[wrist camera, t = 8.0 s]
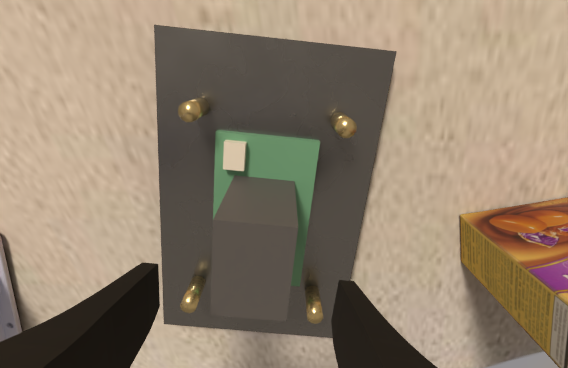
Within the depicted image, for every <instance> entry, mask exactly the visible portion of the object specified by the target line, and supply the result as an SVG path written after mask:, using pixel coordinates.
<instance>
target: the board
mask: <svg viewBox="0 0 568 368" xmlns="http://www.w3.org/2000/svg"><path fill="white" fill-rule="evenodd" d="M319 147H320V141H319V140H314V139H304V138H294V137H284V136H274V135H264V134H254V133H244V132H234V131H224V130H217V131H216V134H215V169H214V203H213V235H212V270H211V305H210V315H214V316H226V317H238V318H250V319H262V320H274V321H286V319H287V311H288V304H289V296H290V288H291V286H299V287H300V282H301V274H302V267H303V260H304V253H305V246H306V239H307V232H308V225H309V218H310V211H311V204H312V196H313V189H314V182H315V175H316V168H317V161H318V154H319Z"/></svg>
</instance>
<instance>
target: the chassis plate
mask: <svg viewBox="0 0 568 368" xmlns="http://www.w3.org/2000/svg"><path fill="white" fill-rule="evenodd" d="M154 33H155V64H156V95H157V125H158V156H159V187H160V218H161V248H162V279H163V310H164V324H171V325H184V326H196V327H208V328H220V329H232V330H244V331H256V332H268V333H281V334H293V335H305V336H317V337H329V338H333V335H332V324H331V319H332V314H333V308H334V303H335V298H336V292H337V287H338V282H339V280H346V281H350V278H351V273H352V268H353V263H354V258H355V253H356V248H357V243H358V238H359V233H360V229H361V224H362V219H363V214H364V209H365V204H366V199H367V194H368V189H369V184H370V179H371V174H372V169H373V164H374V160H375V155H376V150H377V145H378V140H379V135H380V130H381V125H382V120H383V115H384V110H385V105H386V100H387V96H388V91H389V86H390V81H391V76H392V71H393V66H394V61H395V56H396V51H387V50H378V49H369V48H360V47H351V46H342V45H333V44H324V43H315V42H306V41H297V40H287V39H278V38H269V37H260V36H251V35H242V34H233V33H224V32H215V31H206V30H197V29H187V28H178V27H169V26H160V25H154ZM217 130H224V131H234V132H244V133H254V134H264V135H274V136H284V137H294V138H304V139H314V140H319V141H320V147H319V154H318V161H317V168H316V175H315V182H314V189H313V196H312V204H311V211H310V218H309V225H308V232H307V239H306V246H305V253H304V260H303V267H302V274H301V282H300V287H299V286H291V288H290V296H289V304H288V311H287V319H286V321H274V320H262V319H250V318H238V317H226V316H214V315H210V305H211V270H212V235H213V203H214V169H215V134H216V131H217Z"/></svg>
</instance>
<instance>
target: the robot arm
mask: <svg viewBox="0 0 568 368" xmlns="http://www.w3.org/2000/svg"><path fill="white" fill-rule="evenodd" d="M159 307H160V303H159V276H158V264H152V263H141V264H140V265H138V266H136V267H135V268H133V269H132V270H130V271H129V272H127V273H126V274H124V275H123V276H121V277H120V278H118V279H117V280H115V281H114V282H112V283H111V284H109V285H108V286H106V287H105V288H103V289H102V290H100V291H99V292H97V293H95V294H94V295H92V296H90V297H89V298H87V299H85V300H84V301H82V302H80V303H79V304H77V305H75V306H74V307H72V308H70V309H68V310H67V311H65V312H63V313H61V314H59V315H57V316H55V317H53V318H51V319H49V320H47V321H45V322H43V323H41V324H39V325H37V326H35V327H33V328H31V329H28V330H26V331H24V332H22V329H21V325H20V320H19V316H18V311H17V307H16V302H15V298H14V293H13V289H12V284H11V280H10V275H9V271H8V266H7V262H6V257H5V253H4V249H3V244H2V240H1V236H0V368H130V366H131V364H132V363H133V361H134V359H135V357H136V355H137V354H138V352H139V350H140V348H141V346H142V344H143V343H144V341H145V339H146V337H147V335H148V333H149V331H150V329H151V327H152V324H153V322H154V320H155V317H156V314H157V312H158V309H159ZM331 324H332V335H333V344H334V350H335V354H336V359H337V363H338V368H437V367H436V366H435V365H433V364H432V363H431V362H430V361H428V360H427V359H426V358H425V357H424V356H423V355H421V354H420V353H419V352H418V351H417V350H416V349H415V348H414V347H413V346H411V345H410V344H409V343H408V342H407V341H406V340H405V339H404V338H403V337H402V336H401V335H400V334H399V333H398V332H397V331H396V330H395V329H394V328H393V327H392V326H391V325H390V324H389V323H388V321H387V320H386V319H385V318H384V317H383V316H382V315H381V314H380V312H379V311H378V310H377V309H376V308H375V307H374V305H373V304H372V303H371V302H370V300H369V299H368V298H367V297H366V296H365V294H364V293H363V292H362V291H361V289H360V288H359V287H358V286H357V284H356V283H355V282H354V281H346V280H339V282H338V287H337V292H336V298H335V303H334V308H333V314H332V319H331Z"/></svg>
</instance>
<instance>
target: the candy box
mask: <svg viewBox="0 0 568 368" xmlns="http://www.w3.org/2000/svg"><path fill="white" fill-rule="evenodd" d="M460 222H461V261H462V263H463V264H464V265H465V266H466V267H467V268H468V269H469V270H470V271H471V272H472V273H473V275H474V276H475V277H476V278H477V279H478V280H479V281H480V282H481V283H482V284H483V285H484V286H485V288H486V289H487V290H488V291H489V292H490V293H491V294H492V295H493V296H494V297H495V298H496V299H497V301H498V302H499V303H500V304H501V305H502V306H503V307H504V308H505V309H506V310H507V311H508V312H509V313H510V315H511V316H512V317H513V318H514V319H515V320H516V321H517V322H518V323H519V324H520V325H521V326H522V327H523V328H524V330H525V331H526V332H527V333H528V334H529V335H530V336H531V337H532V338H533V339H534V341H535V342H536V343H537V344H538V345H539V346H540V347H541V348H542V349H543V350H544V351H545V352H546V354H547V355H548V356H549V357H550V358H551V359H552V360H553V361H554V363H555V364H556V365H557V366H558V367H559V368H568V197H567V198H561V199H555V200H550V201H543V202H538V203H532V204H525V205H519V206H514V207H507V208H501V209H495V210H489V211H483V212H476V213H469V214H461V215H460Z"/></svg>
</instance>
